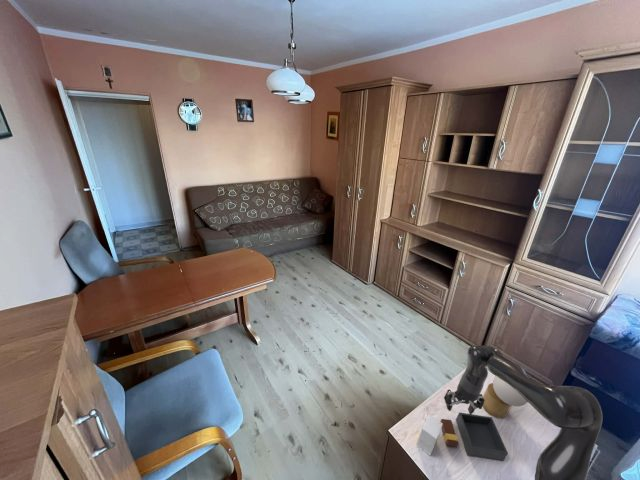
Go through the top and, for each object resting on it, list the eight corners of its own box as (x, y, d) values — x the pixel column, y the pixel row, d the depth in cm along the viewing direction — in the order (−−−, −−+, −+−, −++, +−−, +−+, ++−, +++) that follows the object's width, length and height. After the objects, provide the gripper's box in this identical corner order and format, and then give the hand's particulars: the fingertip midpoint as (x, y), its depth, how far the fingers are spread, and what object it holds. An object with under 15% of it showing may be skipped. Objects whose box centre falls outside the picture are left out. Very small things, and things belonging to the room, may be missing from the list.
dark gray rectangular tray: (503, 461, 111) (508, 453, 108) (467, 455, 112) (471, 447, 110) (487, 424, 124) (491, 417, 121) (455, 420, 125) (459, 412, 123)
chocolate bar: (457, 448, 114) (459, 444, 113) (446, 446, 115) (448, 442, 114) (449, 424, 123) (451, 420, 122) (439, 422, 124) (441, 418, 123)
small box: (421, 430, 120) (428, 413, 115) (436, 440, 117) (443, 423, 111) (415, 445, 115) (421, 428, 109) (430, 457, 111) (437, 439, 105)
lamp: (522, 423, 125) (544, 389, 114) (498, 430, 122) (518, 396, 111) (495, 393, 138) (513, 360, 127) (473, 399, 135) (489, 365, 124)
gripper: (455, 391, 101) (444, 416, 109) (493, 397, 100) (480, 422, 107) (448, 374, 108) (439, 399, 115) (485, 379, 107) (473, 404, 114)
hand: (459, 410), depth 111 cm, fingers open, 8 cm apart
